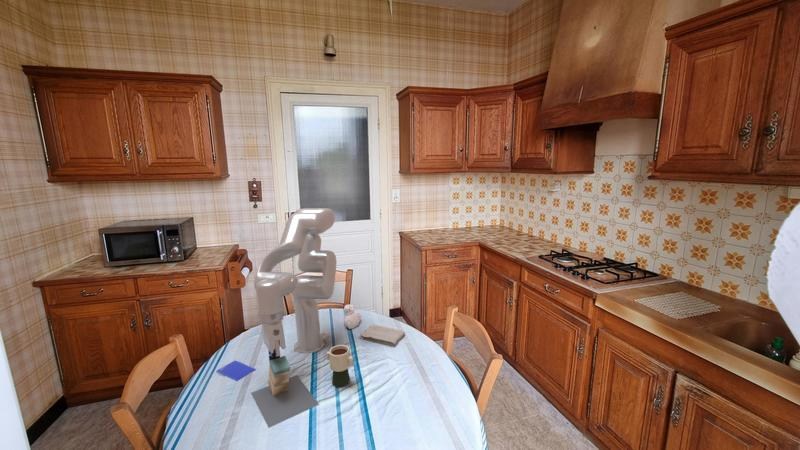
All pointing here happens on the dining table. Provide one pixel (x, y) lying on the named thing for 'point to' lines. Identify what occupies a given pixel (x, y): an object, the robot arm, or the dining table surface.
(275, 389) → the maple block
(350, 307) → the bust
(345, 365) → the character mug
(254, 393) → the rubber mat
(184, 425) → the dining table surface
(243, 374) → the hard drive
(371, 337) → the washcloth
